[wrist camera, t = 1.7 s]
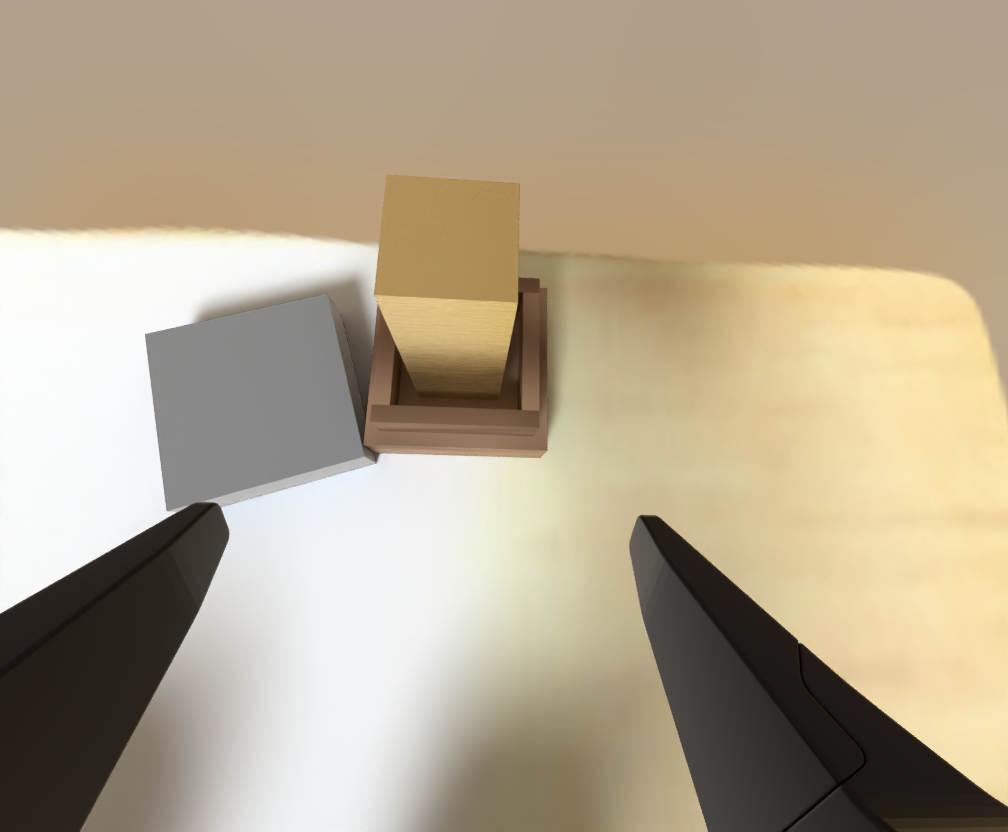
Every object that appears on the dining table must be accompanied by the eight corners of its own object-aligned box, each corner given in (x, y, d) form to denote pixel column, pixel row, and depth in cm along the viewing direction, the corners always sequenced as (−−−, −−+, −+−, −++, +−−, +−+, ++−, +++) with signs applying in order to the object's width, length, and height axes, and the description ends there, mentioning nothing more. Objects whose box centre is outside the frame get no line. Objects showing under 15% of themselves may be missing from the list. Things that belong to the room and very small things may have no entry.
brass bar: (498, 400, 22) (518, 302, 12) (419, 397, 22) (374, 295, 12) (500, 327, 23) (519, 183, 13) (424, 324, 22) (386, 174, 13)
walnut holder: (539, 457, 24) (554, 443, 19) (375, 452, 23) (352, 436, 19) (539, 310, 26) (553, 267, 22) (389, 302, 25) (371, 256, 21)
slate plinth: (375, 463, 23) (364, 456, 21) (200, 512, 22) (166, 511, 19) (341, 315, 25) (327, 293, 23) (178, 353, 24) (144, 334, 21)
